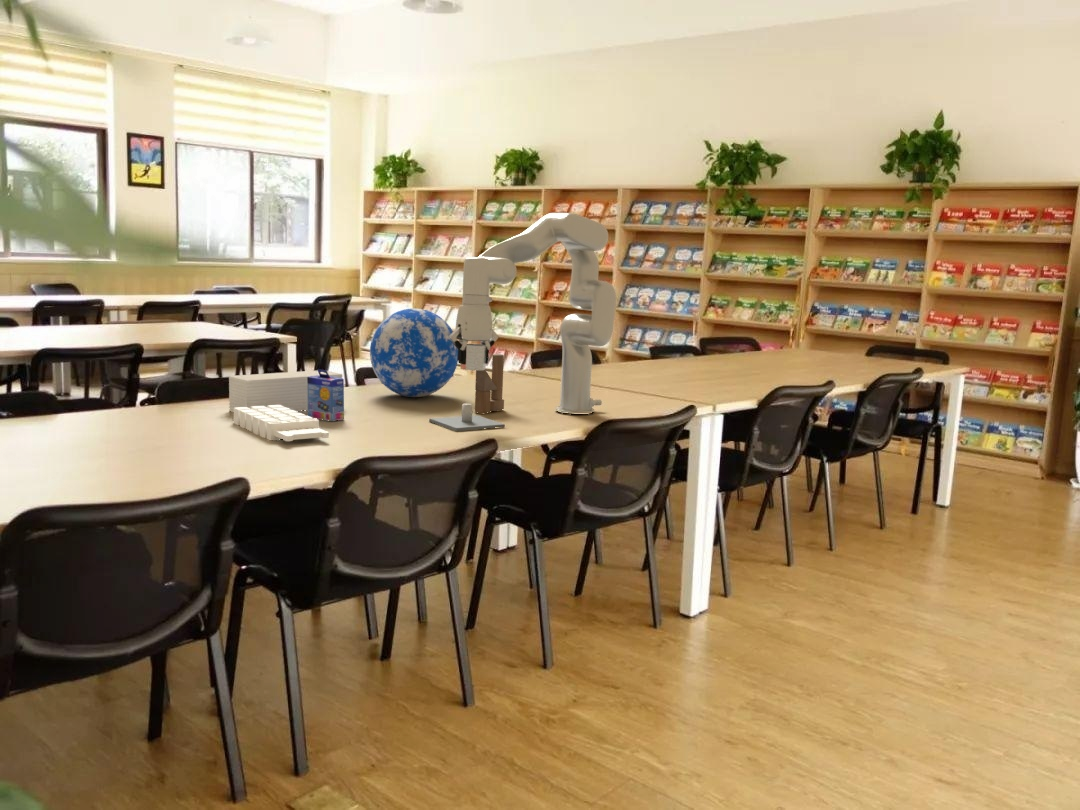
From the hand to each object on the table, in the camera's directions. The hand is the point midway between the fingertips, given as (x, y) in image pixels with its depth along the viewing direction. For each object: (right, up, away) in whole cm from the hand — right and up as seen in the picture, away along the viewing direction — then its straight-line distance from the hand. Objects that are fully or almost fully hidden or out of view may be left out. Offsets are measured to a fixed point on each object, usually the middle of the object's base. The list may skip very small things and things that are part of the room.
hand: (473, 362), depth 272 cm
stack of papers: (-58, -14, +16) cm, 61 cm away
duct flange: (-2, -18, +3) cm, 18 cm away
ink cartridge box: (-43, -16, +3) cm, 46 cm away
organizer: (-50, -20, -20) cm, 57 cm away
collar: (0, -2, 0) cm, 2 cm away
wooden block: (+3, -14, +27) cm, 31 cm away
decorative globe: (-24, -10, +50) cm, 56 cm away
